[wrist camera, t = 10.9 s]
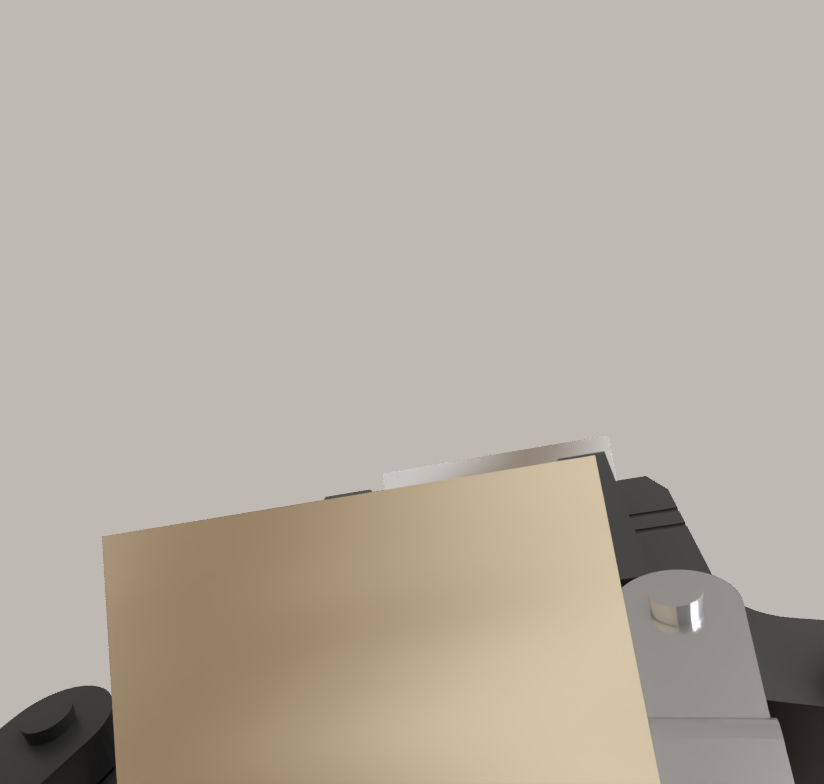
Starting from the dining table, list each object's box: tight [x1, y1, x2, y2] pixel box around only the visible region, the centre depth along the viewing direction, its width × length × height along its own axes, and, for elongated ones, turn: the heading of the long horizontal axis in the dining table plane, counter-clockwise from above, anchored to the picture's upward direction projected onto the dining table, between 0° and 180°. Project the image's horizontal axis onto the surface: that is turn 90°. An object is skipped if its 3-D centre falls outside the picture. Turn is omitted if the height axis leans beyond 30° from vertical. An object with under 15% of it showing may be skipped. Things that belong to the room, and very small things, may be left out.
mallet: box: [102, 436, 660, 784], centre depth 15 cm, size 6×22×5 cm, turn 169°
